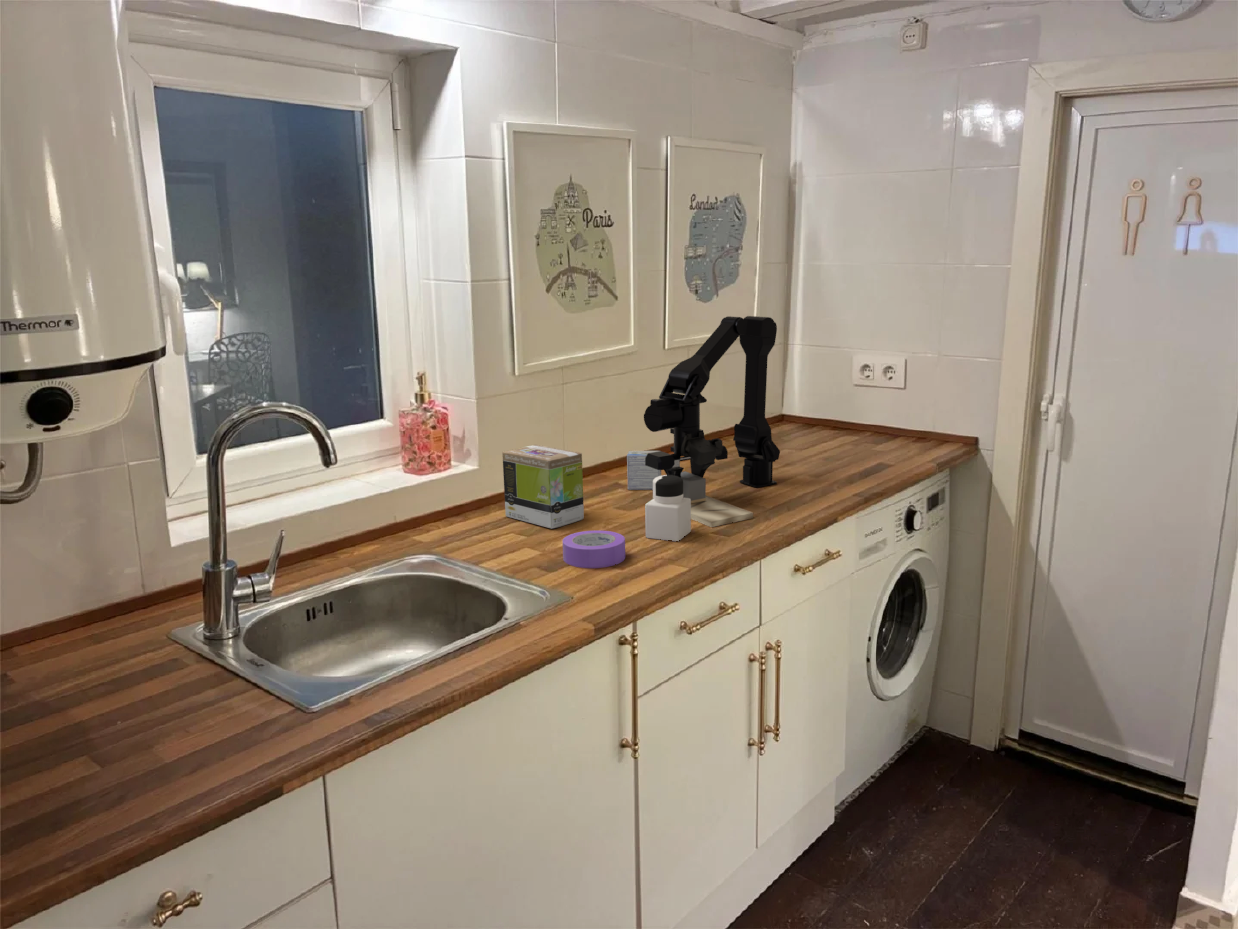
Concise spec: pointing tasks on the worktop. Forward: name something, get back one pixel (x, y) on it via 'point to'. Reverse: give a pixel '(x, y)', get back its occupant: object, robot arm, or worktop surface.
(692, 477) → the block
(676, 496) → the medicine bottle
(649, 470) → the medicine box
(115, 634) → the worktop surface
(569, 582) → the worktop surface
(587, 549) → the masking tape
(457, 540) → the worktop surface
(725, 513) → the board
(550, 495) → the tea box
